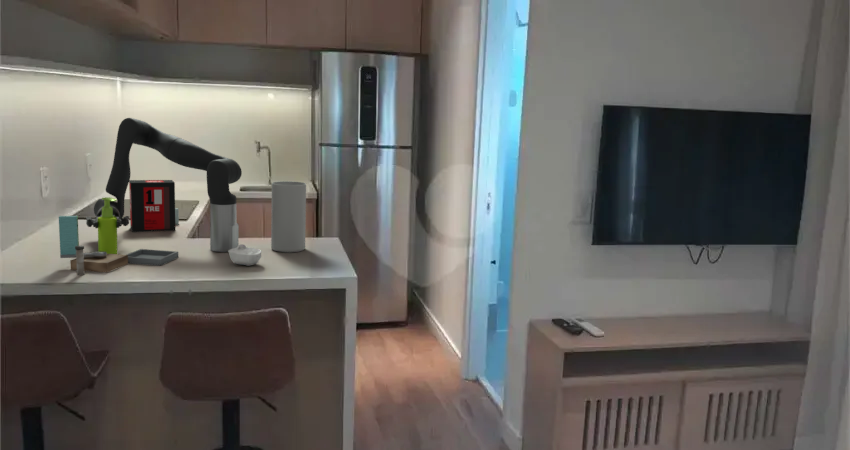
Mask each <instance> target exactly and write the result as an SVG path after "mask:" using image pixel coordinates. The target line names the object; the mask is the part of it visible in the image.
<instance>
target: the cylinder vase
mask: <svg viewBox="0 0 850 450" xmlns="http://www.w3.org/2000/svg"><path fill="white" fill-rule="evenodd" d="M306 212H307V183H306V182H301V181H288V180H287V181H285V180H284V181H272V182H271V225H270V226H271V227H270V228H271V232H270V233H271V234H270V235H271V237H270V238H271V239H270V241H271V242H270V243H271V244H270V246H271V250H273V251H275V252H279V253H298V252H299V253H300V252H303V251H304V250H305V248H306V227H307V226H306V220H307V219H306Z"/></svg>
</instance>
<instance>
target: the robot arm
mask: <svg viewBox="0 0 850 450" xmlns="http://www.w3.org/2000/svg"><path fill="white" fill-rule="evenodd" d="M133 145H138V146H144V147H147V148H150V149H151V150H155V151H157V152H158V153H160V154H161V155H162V156H163V157H164V158H165V159H166V160H169V161H170V162H173V163H175V164H177V165H179V166H183V167H185V168H191V169H194V170H200V171H201V170H202V171H205V172H206V189H207V190H206V191H207V195H208V198H209V220H210V221H209V227H210V228H209V240H210V241H209V246H210V251H213V252H220V253H225V252H228V250H230V249H233V248H237V246H239V223H237V196H236V195H235V194H234V193H232V192H231V191H230V185H232V184H234V183H236V182H238V181H239V180H240V179H241V177H242V167H241V166H240V164H239V163H238V162H237V161H236V160H234V159H233V158H229V157H225V156H222V155H219V154H216V153H213V152H212V151H209V150H207V149H205V148H203V147H201V146H199V145H196V144H194V143H192V142H190V141H188V140H185V139H184V138H182V137H178V136H176V135H173V134H168V133H166V132H163V131H162V130H160V129H158V128H156V127H155V126H153V125H152V124H149V123H148V122H146V121H145V120H141V119H137V118H133V117H127V118H126V117H125V118H124V119H123V120H122V121H121V122H120V123H119V126H118V129H117V135H116V142H115V148H114V155H113V161H112V162H113V163H112V167H111V171H110V174H109V177H108V180H107V184H106V186H105V192H106V193H107V194H109V195H111V196H113V197H114V198H116V200H117V201H113V202H111V201H110V206H111V207H113V216H114V217H117V229H119V228H120V227H122V226H123V227H127V226H129V224H130V215H126V216H124V215H125V197H126V193H127V190H128V187H129V180H131V165H130V163H131V162H130V153H131V149H132V146H133ZM103 206H104V200H102V198H99V199H98V200H96V202H95V203H94V205H93V213H94V215H95V217H94V218H92V217H91V216H86V217H85V223H86V226H87V227H88V228H91V227H93V228H95V229H98V217H101V216H102V207H103ZM228 253H229V252H228Z"/></svg>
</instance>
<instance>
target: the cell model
mask: <svg viewBox="0 0 850 450" xmlns="http://www.w3.org/2000/svg"><path fill="white" fill-rule="evenodd" d="M228 254H229V258H230V260H231V261H232V262H233V264H235V265H238V266H239V265H241V266H247V267H250V266H253V265H256V264H257V263H259V261H260V259H261V258H262V250H261V249H260V248H254V247H248V246H246V245H245V244H241V243H240V244H238V246H237V248H233V249H230V250H228Z"/></svg>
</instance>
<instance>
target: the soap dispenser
mask: <svg viewBox="0 0 850 450" xmlns="http://www.w3.org/2000/svg"><path fill="white" fill-rule="evenodd" d="M101 199H102V200H104V206H103V207H102V216H101V217H98V228H97V239H98V240H97V246H98V247H97V248H98V250H97V251H106V252H107V254H118V228H117V217H114V216H113V207H111V206H110V201H111V202H113V201H114V202H117V198H116V199H115V197H114V198H113V197H105V196H104V197H102V198H101Z"/></svg>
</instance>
